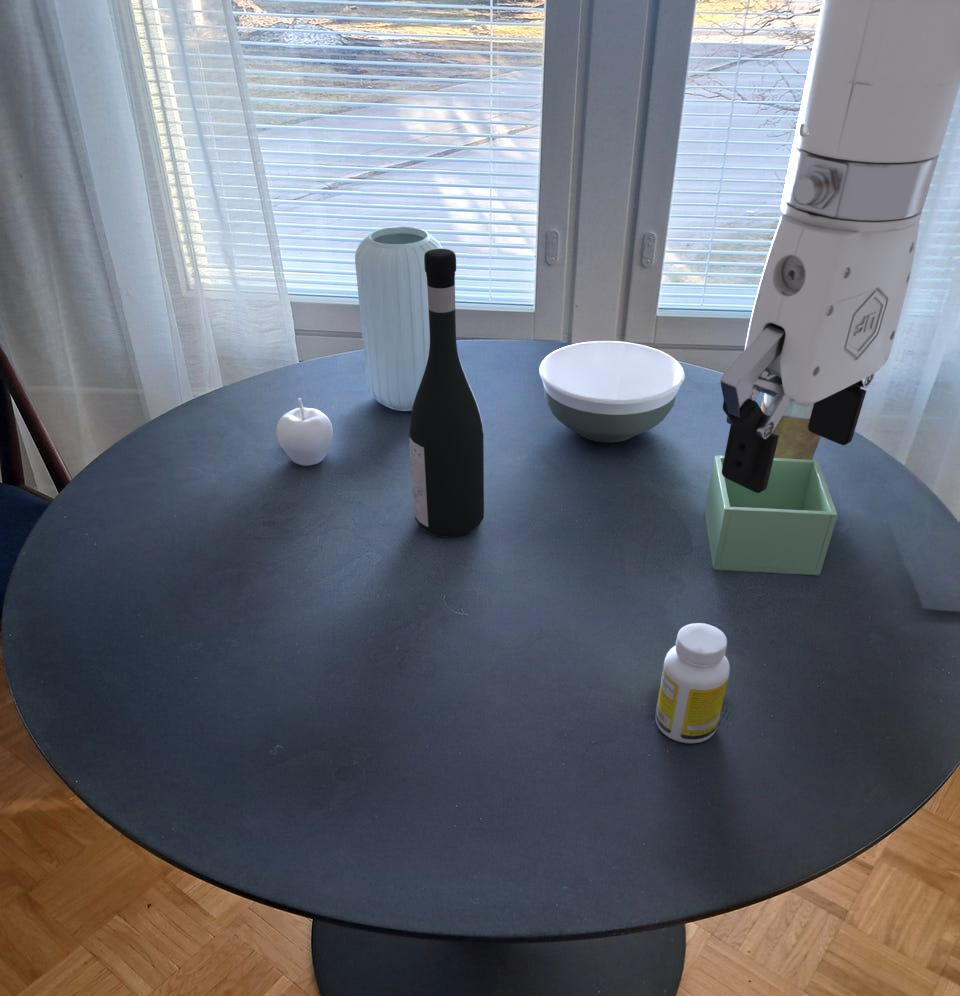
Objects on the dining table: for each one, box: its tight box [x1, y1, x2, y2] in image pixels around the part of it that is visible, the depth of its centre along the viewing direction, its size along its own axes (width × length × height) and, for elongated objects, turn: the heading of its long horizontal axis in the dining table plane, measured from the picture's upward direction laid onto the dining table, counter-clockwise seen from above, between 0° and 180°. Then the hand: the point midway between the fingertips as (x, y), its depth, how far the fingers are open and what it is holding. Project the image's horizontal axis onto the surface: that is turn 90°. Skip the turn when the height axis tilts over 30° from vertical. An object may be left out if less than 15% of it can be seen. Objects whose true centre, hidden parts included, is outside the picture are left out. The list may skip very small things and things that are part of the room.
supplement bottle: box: [655, 622, 731, 744], centre depth 76 cm, size 5×5×10 cm
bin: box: [704, 455, 838, 576], centre depth 98 cm, size 11×11×8 cm
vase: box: [354, 225, 444, 412], centre depth 121 cm, size 12×12×22 cm
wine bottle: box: [408, 248, 485, 538], centre depth 94 cm, size 8×8×30 cm
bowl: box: [538, 340, 686, 443], centre depth 119 cm, size 19×19×8 cm
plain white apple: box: [275, 397, 334, 467], centre depth 113 cm, size 7×7×8 cm
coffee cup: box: [760, 376, 822, 460], centre depth 106 cm, size 8×8×15 cm
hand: (787, 459), depth 61 cm, fingers open, 9 cm apart
